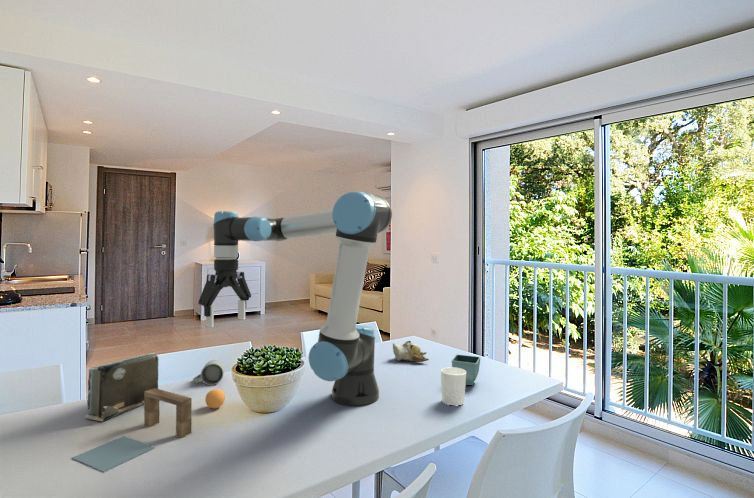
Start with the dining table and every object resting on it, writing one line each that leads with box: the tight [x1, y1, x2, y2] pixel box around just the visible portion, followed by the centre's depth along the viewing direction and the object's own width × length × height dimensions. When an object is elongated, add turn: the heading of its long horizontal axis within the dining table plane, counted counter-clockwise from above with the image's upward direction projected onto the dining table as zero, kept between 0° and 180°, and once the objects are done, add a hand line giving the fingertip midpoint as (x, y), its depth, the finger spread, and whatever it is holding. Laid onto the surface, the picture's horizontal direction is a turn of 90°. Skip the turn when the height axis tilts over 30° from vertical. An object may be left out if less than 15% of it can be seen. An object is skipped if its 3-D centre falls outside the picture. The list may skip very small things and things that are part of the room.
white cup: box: [440, 366, 466, 406], centre depth 134 cm, size 8×8×10 cm
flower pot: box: [451, 354, 481, 386], centre depth 151 cm, size 9×9×9 cm
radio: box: [83, 351, 159, 422], centre depth 127 cm, size 23×9×15 cm, turn 158°
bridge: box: [143, 388, 193, 439], centre depth 112 cm, size 3×14×9 cm, turn 63°
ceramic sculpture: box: [392, 340, 430, 363], centre depth 178 cm, size 11×9×15 cm
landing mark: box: [71, 435, 155, 473], centre depth 100 cm, size 12×12×1 cm
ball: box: [204, 388, 226, 410], centre depth 126 cm, size 6×6×6 cm
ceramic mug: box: [192, 359, 225, 386], centre depth 148 cm, size 10×8×7 cm
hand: (226, 322), depth 140 cm, fingers open, 13 cm apart
